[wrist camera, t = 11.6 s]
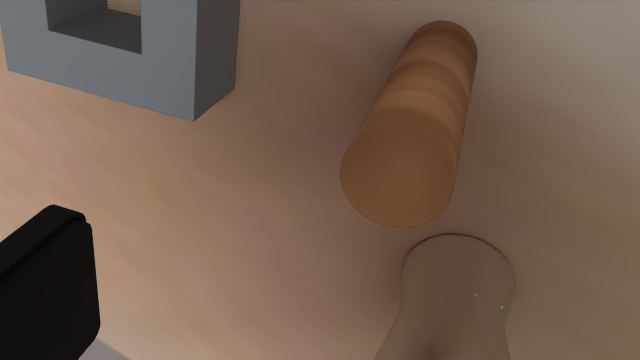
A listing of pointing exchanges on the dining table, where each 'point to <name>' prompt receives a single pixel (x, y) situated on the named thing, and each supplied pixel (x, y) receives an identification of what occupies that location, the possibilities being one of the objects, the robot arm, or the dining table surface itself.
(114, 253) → the dining table surface
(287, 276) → the dining table surface
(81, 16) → the hole block
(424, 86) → the dowel
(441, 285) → the beer glass
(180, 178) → the dining table surface
